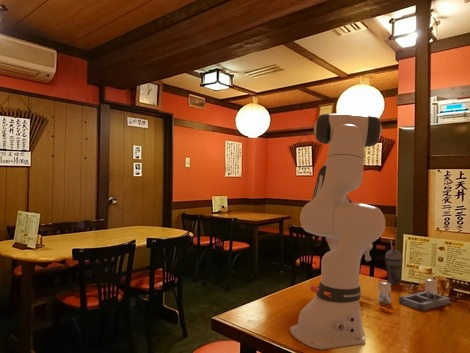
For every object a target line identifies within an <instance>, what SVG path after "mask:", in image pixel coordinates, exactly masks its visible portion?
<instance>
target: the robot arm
mask: <svg viewBox="0 0 470 353" xmlns="http://www.w3.org/2000/svg"><path fill="white" fill-rule="evenodd" d="M313 132H314V137H315V140H316V141H317V142H319V143H320V144H324V145H327V144H329V145H328V150H327V158H326V159H325V162H324V164H323V165H322V166H321V167H320V169H319V171H318V173H317V178H316V181H315V186H314V189H313V192H312V193H313V194H312V197H311V201H308V202H307V203H306V204H305V205H304V206H303V207H302V209H301V210H300V211H301V212H300V213H299V214H300V215H299V221H300V222H299V223H300V226H301V228H302V229H303V230H304V231H305V232H306V233H308V234H312V235H314V236H318V237H325V240H326V241H327V245H328V247H329V251H327V252H325V254H324V255H323V256H322V258H321V260H320V262H321V264H320V266H321V268H320V269H321V271H320V272H321V273H320V274H321V275H320V278H321V279H320V280H321V281H320V282H319V284H318V285H316V284H311V285H310V286H309V290H310V291H311V292H313V293H316V295H315V296H314V297H313V299H311V300H310V301H309V302H308V303H307V304H306V305H305V306H304V307H303V308H302V309H301V310H300V312H299V315H298V319H297V324H294V325H292V326H290V327H289V331H290V334H291V335H292V336H293V337H294V338H295V339H296V340H298V341H299V342H300V343H302V344H304V345H305V346H308V347H309V348H310V347H311V348H313V349H317V350H327V349H334V348H341V347H343V348H344V347H349V346H354V345H355V346H356V345H363V344H366V337H365V330H364V327H363V320H362V319H363V318H362V310H361V305H360V299H361V297H362V296H361V294H362V290H361V285H360V268H361V260H362V257H363V255H364V256H365V257H364V260H365V262H370V261H371V260H372V257H371V256H370V251H371V250H373V247H374V246H373V243H374V242H376V241H377V240H378V239H379V238H381V237H382V236H383V234H384V233H385V229H386V218H385V215H384V213H383V212H382V211H381V209H380V208H379V207H377V206H374V205H370V204H365V203H360V202H359V203H357V202H356V203H355V202H352V200H351V198H350V197H349V196H348V194H349V193H351V192H354V191H356V190H358V188H359V187H360V186H361V185H362V183H363V178H364V166H365V148H367V147H374V146H376V145H377V144H378V143H379V141H380V139H381V137H382V133H383V126H382V124H381V120H380V119H379V118H378V117H377V116H373V115H363V114H354V113H347V112H346V113H331V114H330V113H323V114H320V115H319V116H318V117H317V119H316V120H315V123H314V126H313Z"/></svg>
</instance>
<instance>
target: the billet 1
mask: <svg viewBox="0 0 470 353" xmlns="http://www.w3.org/2000/svg"><path fill="white" fill-rule="evenodd" d="M391 286H392V285H391V283H389V282H388V281H379V282H378V302H379V303H380V304H379V306H380V307H384V308H385V306H384V305H391V303H392V301H391V300H392V296H391V295H392V287H391Z"/></svg>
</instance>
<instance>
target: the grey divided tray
mask: <svg viewBox="0 0 470 353" xmlns="http://www.w3.org/2000/svg"><path fill="white" fill-rule="evenodd" d="M398 303H399V304H401V305H404V306H407V307H409V308H413V309H416V310H417V311H421V312H423V311H427V310H431V309H435V308H439V307H442V306H446V305H450V304H451V298H450V297H448V296H444V295H440V294H438V293H437V299H435V300H432V299H429V298H426V297H425V290H424V291H419V292H415V293H412V294H407V295H403V296H401V295H400V296H399V297H398Z"/></svg>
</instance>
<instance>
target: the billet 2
mask: <svg viewBox="0 0 470 353" xmlns="http://www.w3.org/2000/svg"><path fill="white" fill-rule="evenodd" d="M424 291H425V297H426V298H429V299H432V300H435V299H437V294H438V280H437V279H434V278H429V277H428V278H424Z"/></svg>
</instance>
